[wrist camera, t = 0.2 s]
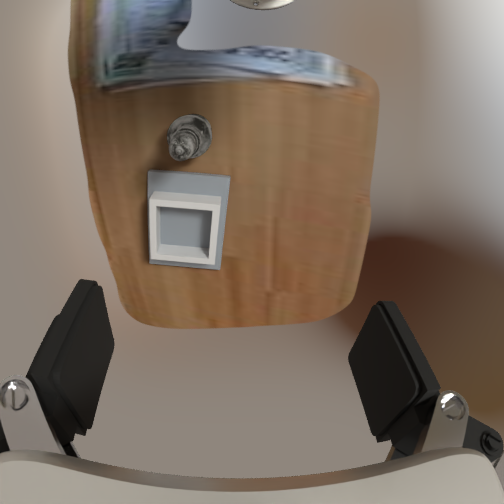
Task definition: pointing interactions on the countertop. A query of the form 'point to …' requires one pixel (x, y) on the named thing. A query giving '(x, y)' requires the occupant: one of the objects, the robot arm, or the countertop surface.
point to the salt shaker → (189, 137)
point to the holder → (186, 218)
